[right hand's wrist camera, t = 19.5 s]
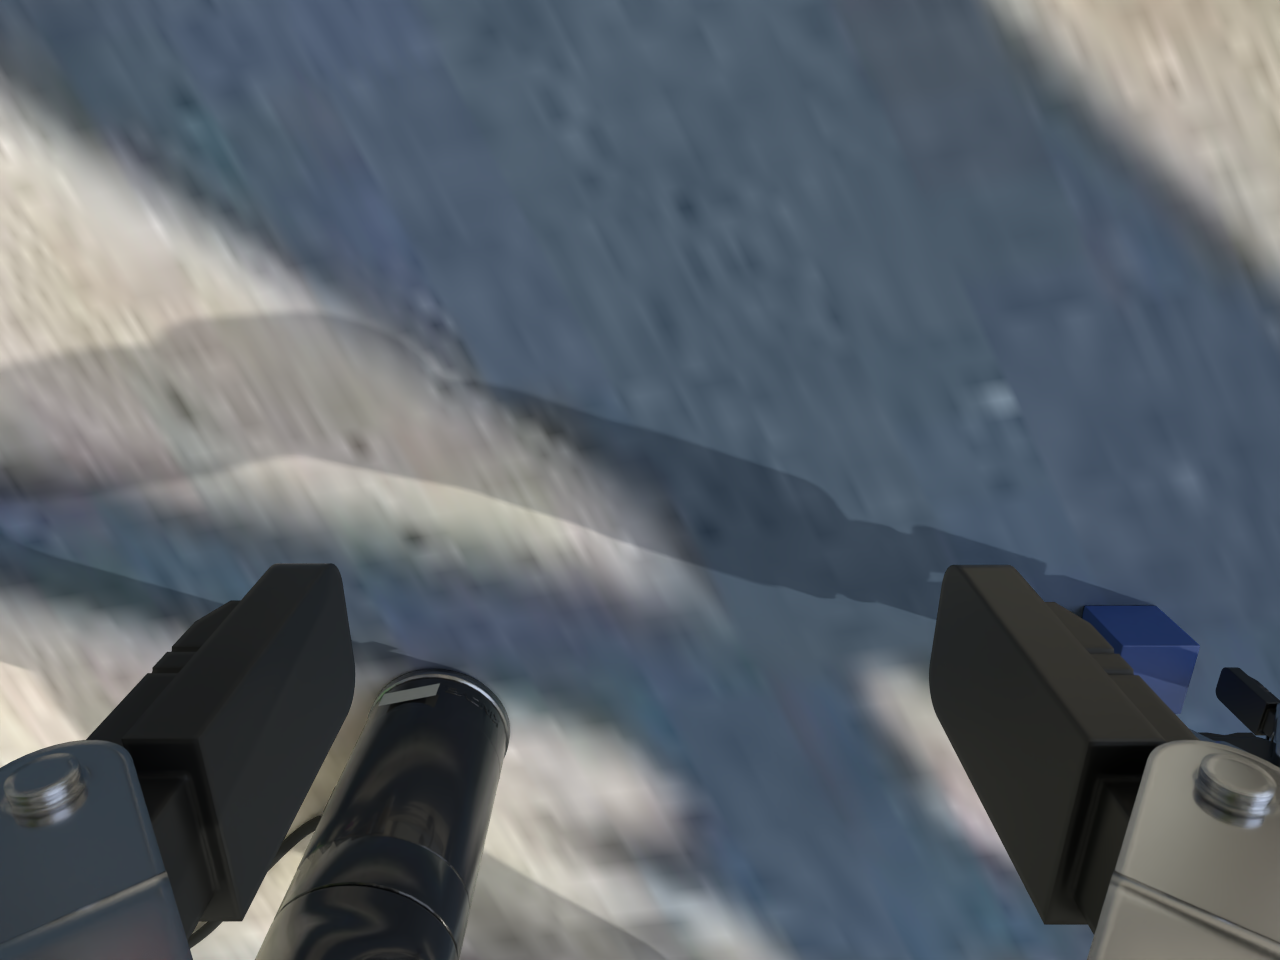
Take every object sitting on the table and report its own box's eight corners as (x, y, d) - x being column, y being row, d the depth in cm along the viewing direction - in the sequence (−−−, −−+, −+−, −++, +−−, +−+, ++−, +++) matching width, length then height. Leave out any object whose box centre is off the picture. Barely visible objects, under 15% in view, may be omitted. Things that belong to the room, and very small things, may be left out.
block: (1156, 605, 54) (1200, 645, 49) (1139, 669, 55) (1180, 714, 51) (1084, 605, 54) (1122, 645, 49) (1069, 670, 55) (1105, 714, 51)
